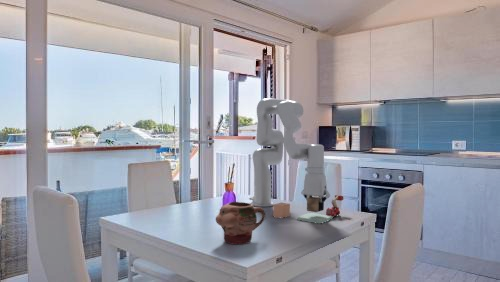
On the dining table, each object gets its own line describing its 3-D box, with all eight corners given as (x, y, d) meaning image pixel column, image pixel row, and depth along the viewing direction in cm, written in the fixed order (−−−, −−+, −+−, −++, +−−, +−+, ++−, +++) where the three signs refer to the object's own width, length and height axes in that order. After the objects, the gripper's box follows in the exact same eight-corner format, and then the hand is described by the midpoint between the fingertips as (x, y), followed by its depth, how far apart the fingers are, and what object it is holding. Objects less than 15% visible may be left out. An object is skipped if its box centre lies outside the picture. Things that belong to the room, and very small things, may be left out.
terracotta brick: (273, 216, 180) (273, 204, 180) (281, 214, 185) (281, 202, 185) (281, 218, 177) (282, 205, 177) (289, 216, 182) (289, 203, 182)
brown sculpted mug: (255, 233, 150) (255, 198, 150) (272, 240, 140) (272, 203, 139) (210, 240, 140) (210, 203, 139) (224, 248, 129) (225, 209, 129)
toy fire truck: (325, 218, 178) (325, 198, 178) (337, 213, 189) (337, 194, 188) (331, 219, 176) (331, 198, 176) (343, 214, 187) (343, 195, 186)
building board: (297, 220, 173) (297, 216, 173) (309, 215, 183) (310, 212, 183) (320, 224, 166) (320, 220, 166) (332, 219, 175) (332, 216, 175)
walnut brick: (306, 210, 173) (307, 198, 173) (314, 208, 178) (314, 196, 178) (316, 212, 170) (316, 199, 170) (323, 209, 175) (323, 197, 175)
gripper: (295, 170, 176) (295, 208, 176) (328, 172, 165) (328, 213, 166) (303, 169, 182) (303, 206, 182) (336, 171, 171) (335, 211, 172)
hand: (315, 209), depth 174 cm, fingers closed on walnut brick, 5 cm apart
